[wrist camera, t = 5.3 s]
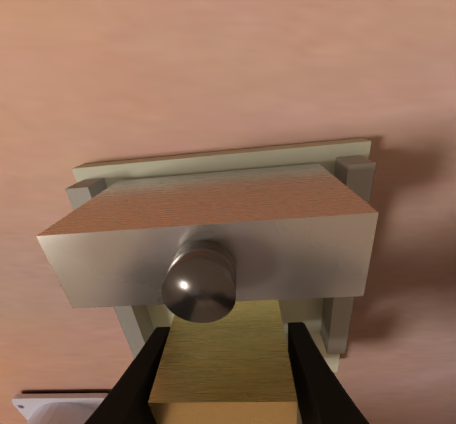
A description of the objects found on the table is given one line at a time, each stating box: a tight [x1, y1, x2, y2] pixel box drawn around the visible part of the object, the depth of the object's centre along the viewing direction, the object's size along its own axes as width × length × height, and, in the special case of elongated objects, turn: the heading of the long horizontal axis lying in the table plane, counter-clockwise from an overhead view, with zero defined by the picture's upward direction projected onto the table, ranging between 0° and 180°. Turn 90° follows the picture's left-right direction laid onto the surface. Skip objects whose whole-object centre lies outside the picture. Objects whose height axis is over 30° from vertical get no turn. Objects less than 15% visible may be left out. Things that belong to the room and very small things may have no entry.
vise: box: [65, 138, 376, 424], centre depth 11 cm, size 14×12×5 cm
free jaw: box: [36, 163, 379, 323], centre depth 8 cm, size 2×8×5 cm, turn 96°
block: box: [148, 300, 298, 424], centre depth 10 cm, size 4×4×6 cm
